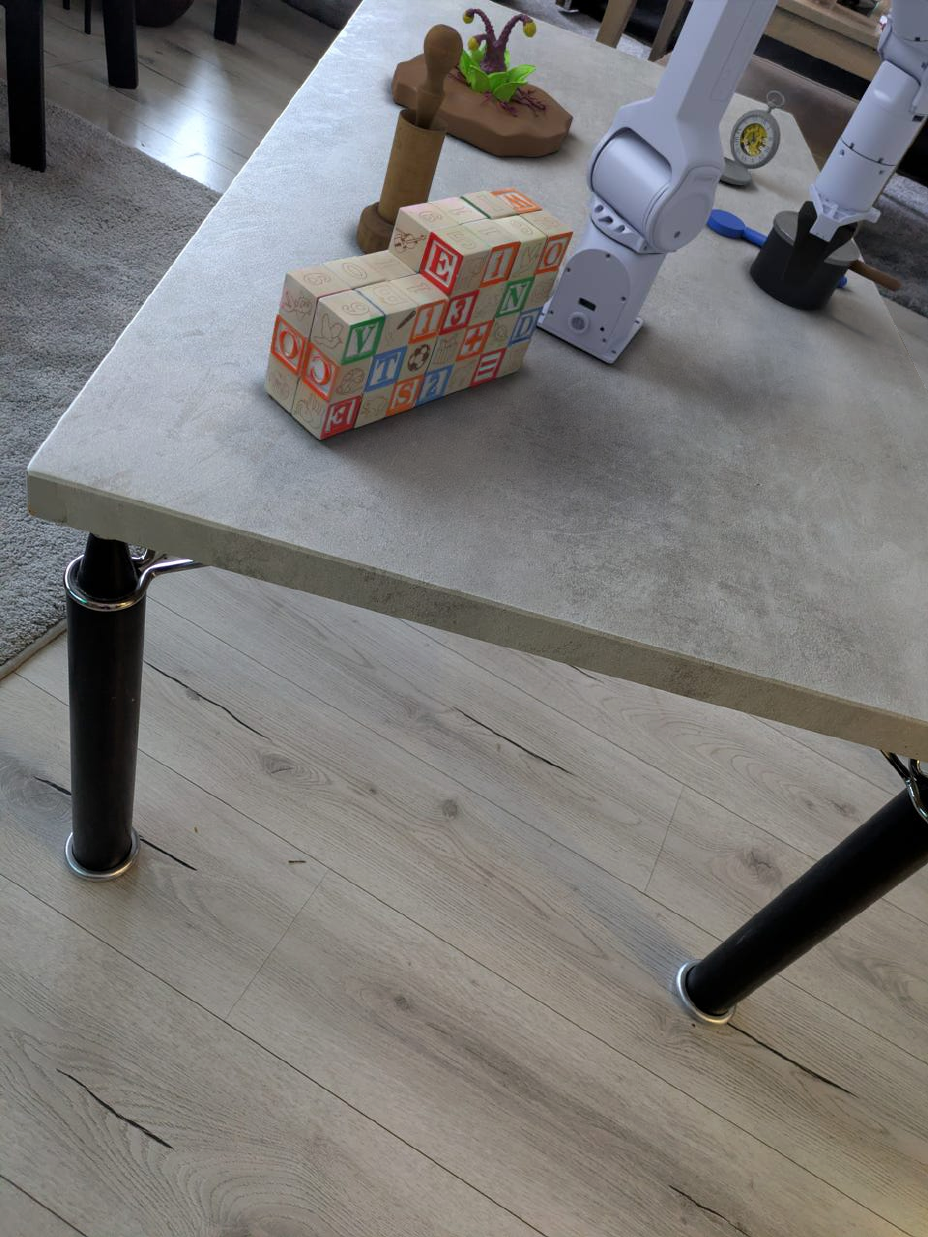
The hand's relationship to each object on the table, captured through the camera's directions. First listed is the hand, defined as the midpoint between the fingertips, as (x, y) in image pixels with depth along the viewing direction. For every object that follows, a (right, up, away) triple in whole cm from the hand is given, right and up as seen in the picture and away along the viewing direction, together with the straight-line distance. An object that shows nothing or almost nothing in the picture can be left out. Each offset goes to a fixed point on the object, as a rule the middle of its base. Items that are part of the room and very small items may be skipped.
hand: (791, 281), depth 100 cm
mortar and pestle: (-40, -2, -14) cm, 42 cm away
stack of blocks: (-38, -17, -27) cm, 49 cm away
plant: (-31, +24, +13) cm, 41 cm away
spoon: (+2, +7, +12) cm, 14 cm away
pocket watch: (0, +22, +25) cm, 33 cm away
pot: (+4, 0, +6) cm, 7 cm away
